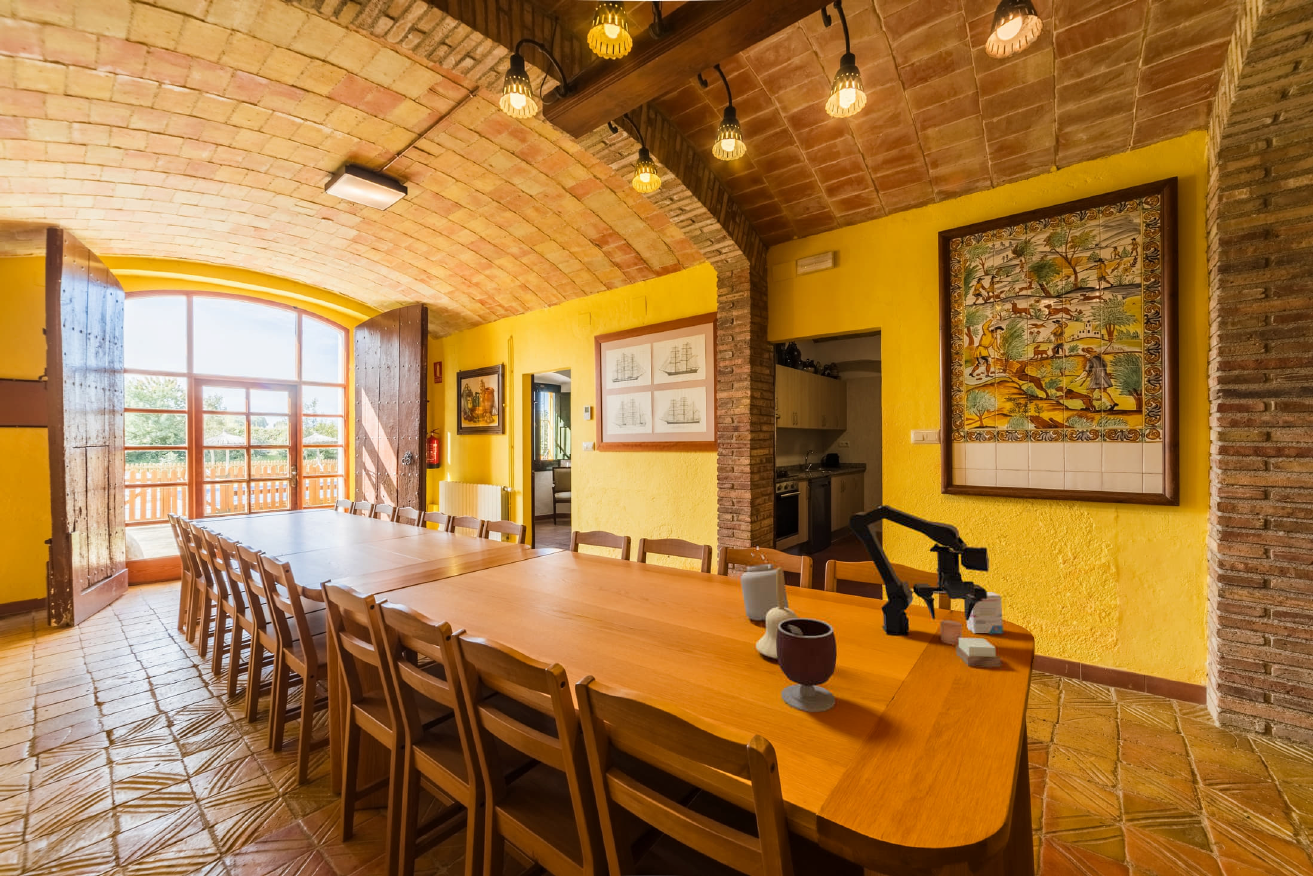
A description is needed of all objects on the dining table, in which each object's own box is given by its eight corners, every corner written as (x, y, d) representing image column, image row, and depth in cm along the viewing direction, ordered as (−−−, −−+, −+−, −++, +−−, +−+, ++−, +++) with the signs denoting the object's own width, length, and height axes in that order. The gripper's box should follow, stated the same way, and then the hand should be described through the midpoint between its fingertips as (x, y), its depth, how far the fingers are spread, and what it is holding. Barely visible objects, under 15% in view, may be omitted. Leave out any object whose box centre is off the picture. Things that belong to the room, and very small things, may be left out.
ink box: (994, 628, 164) (993, 591, 164) (1003, 634, 159) (1001, 595, 159) (966, 628, 165) (964, 591, 165) (974, 634, 160) (972, 595, 160)
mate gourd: (793, 680, 133) (790, 602, 134) (847, 695, 125) (843, 612, 125) (764, 704, 121) (761, 619, 122) (822, 723, 113) (818, 631, 113)
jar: (730, 614, 186) (727, 545, 186) (762, 607, 193) (760, 540, 193) (764, 630, 169) (761, 554, 169) (798, 622, 176) (795, 548, 176)
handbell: (766, 640, 161) (763, 559, 161) (815, 648, 153) (812, 564, 153) (748, 658, 148) (745, 570, 148) (801, 668, 140) (798, 576, 140)
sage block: (969, 656, 138) (968, 646, 138) (958, 646, 145) (958, 637, 145) (995, 657, 137) (995, 647, 137) (983, 647, 144) (983, 638, 144)
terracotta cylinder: (944, 645, 153) (944, 626, 153) (938, 638, 158) (937, 620, 158) (965, 645, 152) (964, 627, 152) (957, 638, 157) (957, 620, 157)
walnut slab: (968, 668, 138) (967, 657, 138) (956, 656, 146) (956, 645, 146) (1001, 669, 136) (1000, 658, 137) (987, 657, 144) (987, 646, 144)
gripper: (923, 573, 149) (925, 628, 149) (994, 574, 146) (996, 630, 145) (911, 564, 160) (913, 615, 160) (978, 565, 156) (979, 617, 156)
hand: (950, 619), depth 155 cm, fingers open, 9 cm apart
